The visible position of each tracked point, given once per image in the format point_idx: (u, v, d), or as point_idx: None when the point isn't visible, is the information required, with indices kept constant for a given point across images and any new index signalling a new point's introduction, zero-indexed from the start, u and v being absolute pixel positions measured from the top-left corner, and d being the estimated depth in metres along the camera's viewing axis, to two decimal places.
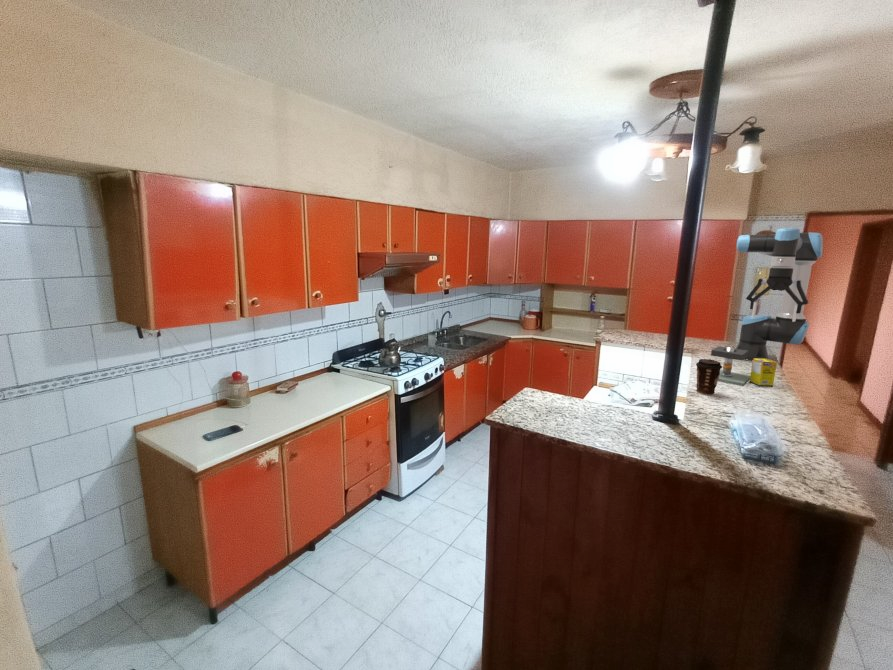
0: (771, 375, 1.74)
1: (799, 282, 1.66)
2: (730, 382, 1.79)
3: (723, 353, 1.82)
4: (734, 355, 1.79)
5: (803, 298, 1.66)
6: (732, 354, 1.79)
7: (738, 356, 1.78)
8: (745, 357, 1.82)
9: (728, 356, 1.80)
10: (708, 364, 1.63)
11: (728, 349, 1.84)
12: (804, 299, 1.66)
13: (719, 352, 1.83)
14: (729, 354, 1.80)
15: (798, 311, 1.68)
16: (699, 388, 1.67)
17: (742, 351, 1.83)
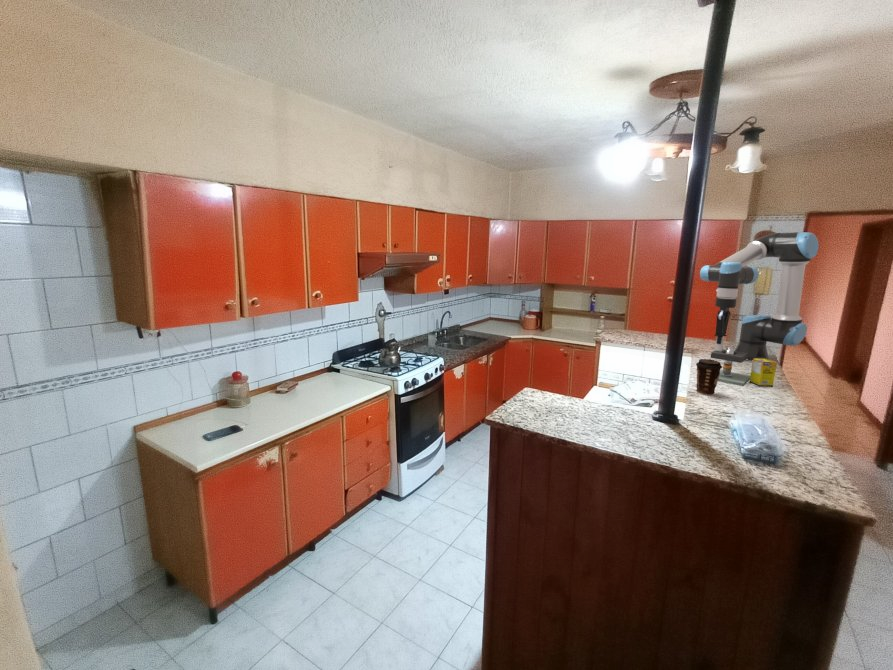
0: (771, 375, 1.74)
1: None
2: (730, 382, 1.79)
3: (723, 355, 1.82)
4: (734, 357, 1.79)
5: None
6: (732, 356, 1.79)
7: (738, 358, 1.78)
8: (745, 359, 1.82)
9: (728, 358, 1.81)
10: (708, 364, 1.63)
11: (728, 349, 1.84)
12: None
13: (719, 354, 1.83)
14: (729, 356, 1.80)
15: None
16: (699, 388, 1.67)
17: (742, 353, 1.83)
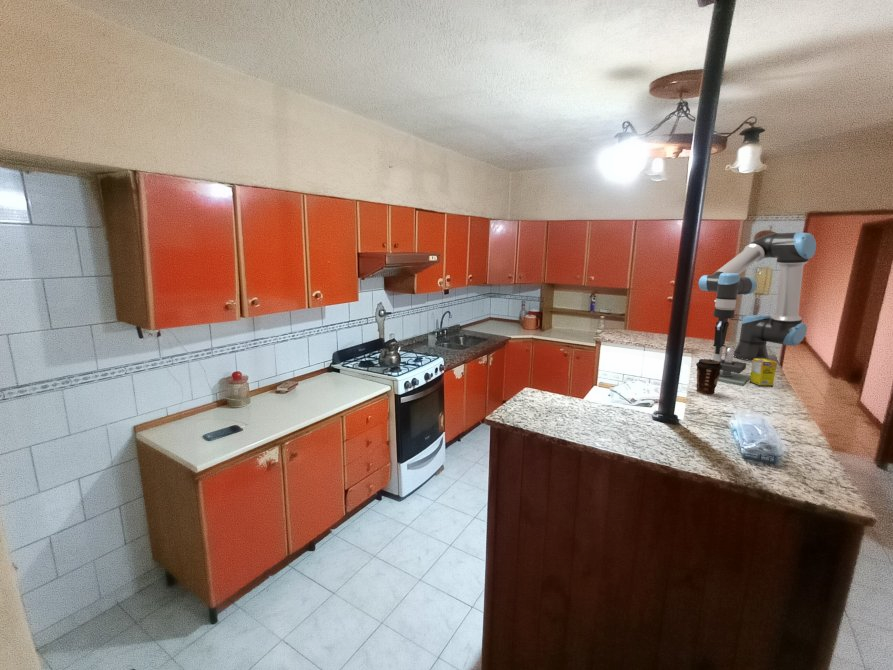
0: (771, 375, 1.74)
1: (715, 327, 1.82)
2: (730, 382, 1.79)
3: None
4: (732, 368, 1.80)
5: None
6: (730, 367, 1.80)
7: (736, 369, 1.79)
8: None
9: (726, 369, 1.82)
10: (708, 364, 1.63)
11: (728, 349, 1.84)
12: None
13: None
14: (727, 367, 1.81)
15: (715, 351, 1.87)
16: (699, 388, 1.67)
17: (740, 364, 1.84)
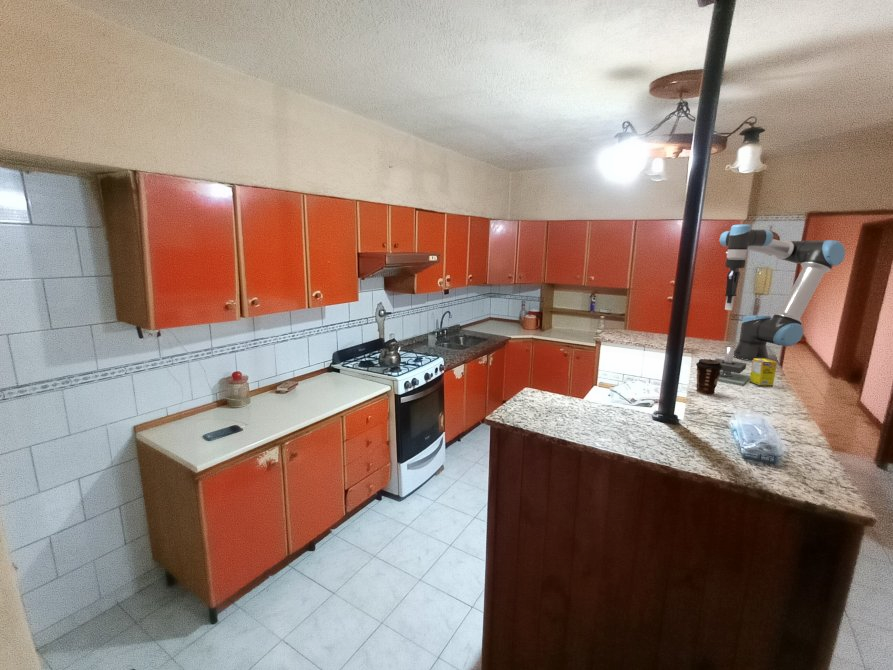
0: (771, 375, 1.74)
1: (727, 276, 1.92)
2: (730, 382, 1.79)
3: None
4: (732, 368, 1.80)
5: None
6: (730, 367, 1.80)
7: (736, 369, 1.79)
8: None
9: (726, 369, 1.82)
10: (708, 364, 1.63)
11: (728, 349, 1.84)
12: None
13: None
14: (727, 367, 1.81)
15: (727, 301, 1.97)
16: (699, 388, 1.67)
17: (740, 364, 1.84)
